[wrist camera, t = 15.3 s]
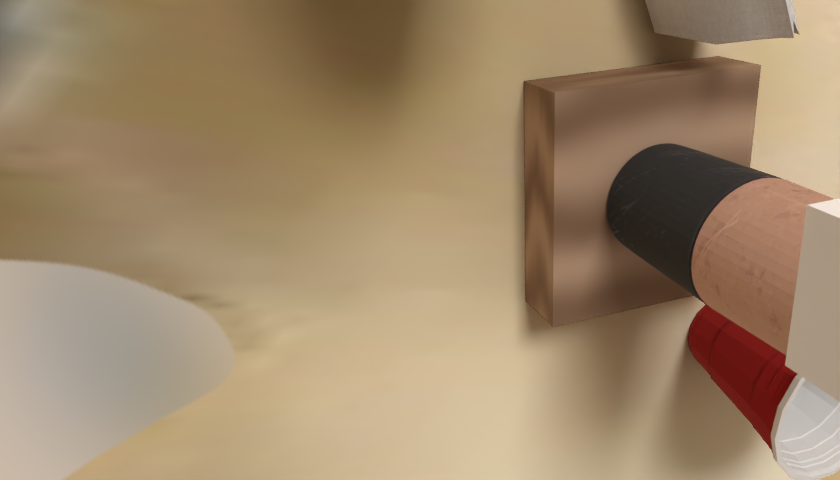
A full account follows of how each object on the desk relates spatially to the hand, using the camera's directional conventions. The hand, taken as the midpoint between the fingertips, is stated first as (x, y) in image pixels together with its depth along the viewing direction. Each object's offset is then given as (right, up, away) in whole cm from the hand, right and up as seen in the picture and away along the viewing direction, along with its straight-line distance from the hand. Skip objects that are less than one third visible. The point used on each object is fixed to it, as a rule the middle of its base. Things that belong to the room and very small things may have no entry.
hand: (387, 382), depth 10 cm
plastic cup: (+24, -5, +50) cm, 55 cm away
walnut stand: (+14, +6, +42) cm, 44 cm away
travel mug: (+15, +5, +38) cm, 42 cm away
